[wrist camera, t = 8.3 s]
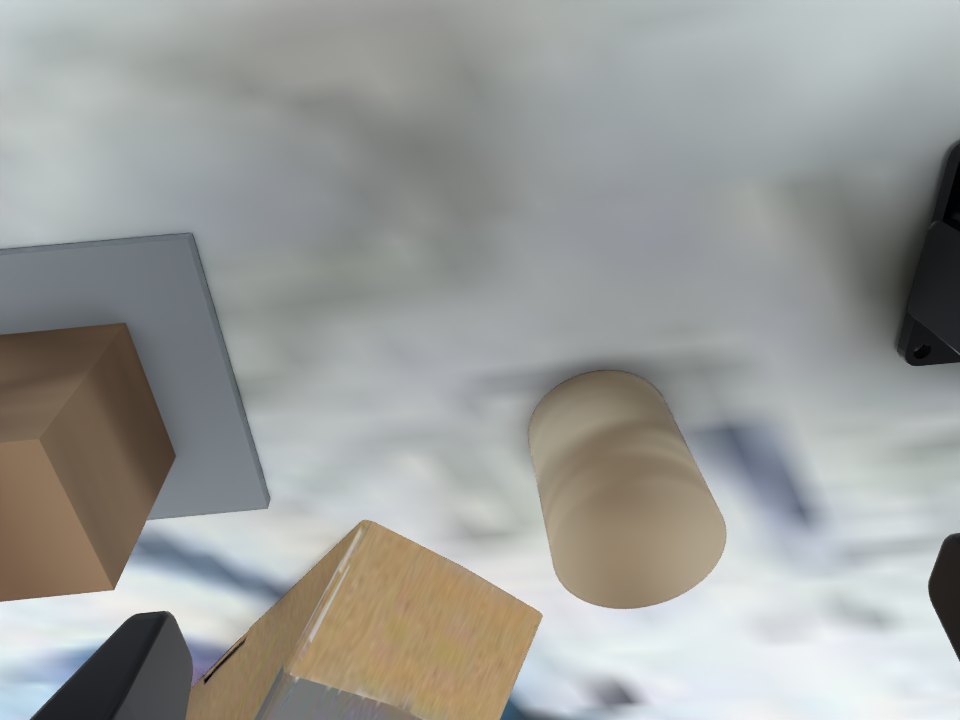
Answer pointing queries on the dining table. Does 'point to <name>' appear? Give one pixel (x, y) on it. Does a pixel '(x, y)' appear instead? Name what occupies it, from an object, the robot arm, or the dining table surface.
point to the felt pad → (151, 352)
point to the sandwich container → (375, 642)
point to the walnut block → (74, 459)
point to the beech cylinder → (621, 493)
